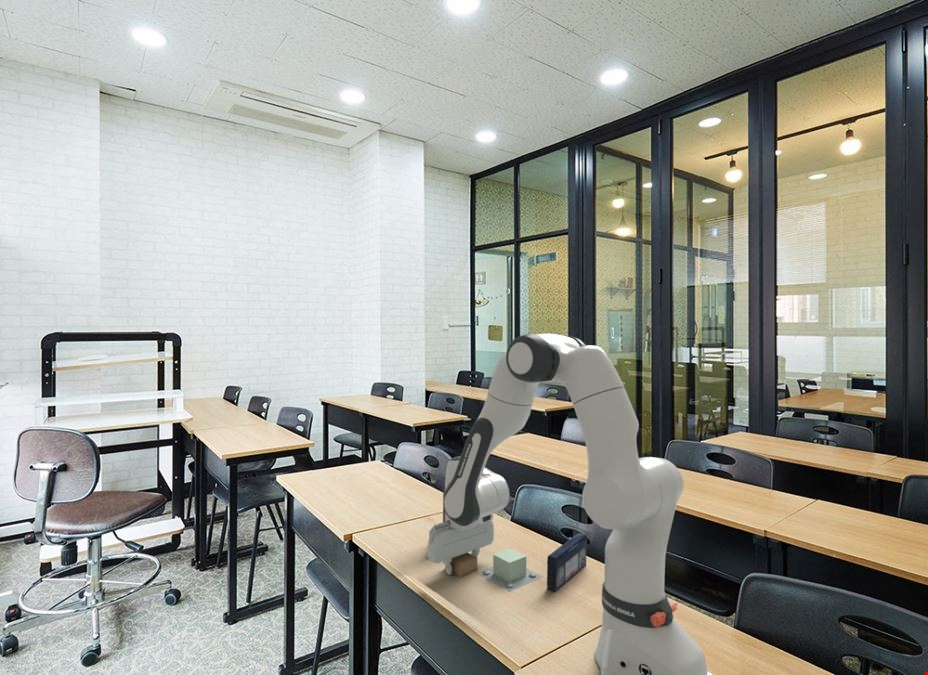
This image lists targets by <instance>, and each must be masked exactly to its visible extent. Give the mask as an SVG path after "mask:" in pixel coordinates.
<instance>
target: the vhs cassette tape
mask: <svg viewBox="0 0 928 675" xmlns="http://www.w3.org/2000/svg"><path fill="white" fill-rule="evenodd" d="M587 539H588V535H587V533H582V532H578V533H577V534H575V535H573V536H572V537H571V538H570V539H568V540H566V542H565V543H564V544H562V545H560V546H559V547H558V548H557V549H555V550H553V552H551V553H550V554H549V555H547V558H546V559H547V560H546V564H547V567H546V568H547V569H546V590H547V591H550V592H553V593H557V592H558V591H559V590H560V589H561V588H562V587H563V586H564V585H566V584H567V583H568V582H570V581H571V579H573V578H574V577H575V576H576V575H577V574H578V573H580V572H581V571H582V569H584V568H585V567H586V566H587V552H588V551H587V550H588V548H587V543H588V540H587Z"/></svg>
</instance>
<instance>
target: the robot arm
mask: <svg viewBox="0 0 928 675" xmlns="http://www.w3.org/2000/svg"><path fill="white" fill-rule="evenodd" d="M490 380H491V381H490V383H489V388H488V392H487V395H486V398H485V401H484V404H483V407H482V409H481V411H480V414H479V415H478V418H477V419H476V420H475V422H474V423H473V425H472V426H471V429H470V430H469V433H468V435H467V438H466V440H465V443H464V445H463V446H464V447H463V449H462V452H461V455H458V456H454V457H452V458H450V459H449V460H448V462H447V466H446V470H445V486H444V488H445V493H444V497H443V496H442V507H443V506H444V510H445V522H443V521H442V522H440V523H435V524H434V525H433V526H432V527H431V529H430V530H429V531H428V541H427V548H426V549H427V550H426V555H427V558H428V559H429V560H430V561H431V562H433V563H435V564H440V563H441V562H442V563H443V564H444V566H446V569H445V573H446V574H447V575H449V576H450V575H454V574H453V573H454V566H452V565H451V564H450V562H451V559H452V558H453V557H456V556H459V555H462V554H465V553H467V552H468V553H470V552H471V553H470V554H471V555H473V556H475V557H477V558H478V557H479V554H480V552H481V551H480V549H481V548H485V547H487V546H490V545H492V543H493V541H494V540H495V535H494V534H495V533H494V532H495V528H494V522H493V519H494V514H495V513H497V512H499V511H501V510H503V509H505V508H506V507H507V506H508V504H509V503H510V499H511V498H510V497H511V492H510V487H509V484H508V482H507V480H506V479H505V478H504V476H502V475H501V474H500V473H496V472H494V471H492V470H490V469H488V468H487V467H485V466H486V465H487V463H488V462H487V461H488V459H489V457H490V455H491V453H492V452H493V451H494V450H495V449H496V448H497V447H498V446H499V445H500V444H501V443H503V442H504V441H506V440H507V439H509V438H511V437H512V436H514V435H515V434H517V433H519V432H520V431H521V430H522V429H523V428H524V427H525V425H526V423H527V422H528V420H529V417H530V416H531V411H532V408H533V405H534V404H533V403H534V401H535V400H534V399H535V394H536V390H537V388H538V386H539V384H540V383H548V384H552V383H553V384H554V383H561V384H563V385H564V387H565V388H566V390H567V392H568V396H569V398H570V400H571V404H572V407H573V408H574V411H575V415H576V418H577V419H578V423H579V426H580V429H581V432H582V435H583V438H584V441H585V442H584V443H585V446H586V453H587V476H586V477H587V479H586V481H585V484H584V487H583V491H582V503H583V507H584V510H585V513H586V514H587V515H588V517H589V518H590V520H591V521H592V522H593V523H594V524H596V525H597V526H599V527H601V528H602V529H605V530H612V532H610V536H609V537H608V538H607V541H606V543H605V548H604V581H603V583H602V585H601V586H602V587H601V589H602V590H601V604H602V608H603V612H602V620H601V621H602V622H601V627H600V634H599V638H598V642H597V645H596V647H595V651H594V658H595V662H596V663H597V665H598V667H599V669H600V675H713V673H711V672H709V671H708V666H707V661H706V656H705V653H704V651H703V649H702V648H701V646H700V645H699V644H698V643H697V642H696V641H695V640H694V638H692V637H691V636H690V634H688V632H687V631H686V630H685V629H684V627H683V626H682V625H681V624H680V623H679V622H678V621H677V620H676V619H675V617H674V614H673V613H674V612H675V611H677V609H678V607H677V606H678V602H675V603H673V604H672V605H670V602H669V600H668V597H667V594H666V591H665V574H666V573H665V572H666V570H665V568H666V553H667V546H668V542H669V538H670V534H671V529H672V524H673V522H674V516H675V512H676V508H677V505H678V502H679V501H680V498H681V497H682V495H683V492H684V485H685V484H684V479H683V478H684V477H683V476H682V473H681V471H680V469H679V468H678V467H677V466H676V465H675V464H674V463H672V462H671V461H669V460H668V459H665V458H661V457H655V456H654V457H653V456H644V457H643V456H642V457H639V452H638V445H637V444H638V443H637V436H638V433H639V432H638V431H639V429H640V428H639V427H640V423H639V419H638V418H637V414H636V412H635V410H634V408H633V405H632V402H631V401H630V398H629V395H628V392H627V390H626V388H625V385H624V383H623V381H622V379H621V377H620V375H619V372H618V371H617V369H616V367H615V365H614V364H613V362H612V361H611V359H610V357H609V356H608V354H607V353H606V351H605V350H604V349H602V348H601V347H600V346H597V345H591V344H590V345H588V344H585V343H584V342H583V341H582V340H581V339H579V338H577V337H574V336H571V335H566V334H565V335H561V334H555V333H551V332H550V333H549V332H544V333H526V334H522V335H519V336H517V337H515V338H514V339H513V340H512V341H511V342H510V343H509V345H508V346H507V349H506V352H505V354H503V355H502V356H500V358H499V360H498V361H497V365H496V367H495V369H494V372H493V374H492V376H491V379H490Z"/></svg>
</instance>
